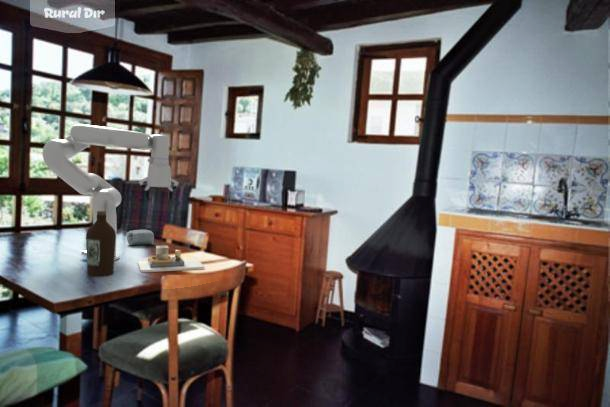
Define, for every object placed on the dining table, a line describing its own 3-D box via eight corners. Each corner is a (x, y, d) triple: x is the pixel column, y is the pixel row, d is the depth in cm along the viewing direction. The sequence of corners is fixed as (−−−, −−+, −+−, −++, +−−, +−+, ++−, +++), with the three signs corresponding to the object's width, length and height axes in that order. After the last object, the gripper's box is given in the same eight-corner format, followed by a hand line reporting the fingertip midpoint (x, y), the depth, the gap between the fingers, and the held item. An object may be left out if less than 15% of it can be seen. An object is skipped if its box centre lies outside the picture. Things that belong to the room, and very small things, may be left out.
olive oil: (101, 268, 175) (102, 209, 173) (121, 272, 172) (122, 211, 169) (79, 274, 166) (79, 211, 163) (99, 278, 162) (100, 213, 159)
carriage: (150, 267, 178) (150, 253, 177) (147, 261, 187) (148, 248, 186) (184, 265, 184) (184, 252, 184) (180, 260, 193) (180, 247, 192)
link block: (156, 261, 181) (156, 247, 181) (155, 259, 186) (155, 245, 185) (168, 261, 183) (168, 247, 183) (167, 258, 188) (167, 245, 187)
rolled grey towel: (126, 241, 218) (130, 223, 222) (123, 246, 226) (127, 228, 230) (153, 246, 224) (157, 229, 228) (149, 251, 231) (153, 234, 236)
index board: (140, 272, 173) (141, 269, 173) (137, 263, 188) (137, 260, 188) (204, 268, 185) (204, 266, 185) (196, 260, 199) (196, 258, 199)
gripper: (140, 161, 186) (139, 199, 187) (180, 163, 193) (179, 200, 195) (138, 160, 192) (137, 198, 194) (177, 163, 200) (176, 199, 201)
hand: (158, 199), depth 194 cm, fingers open, 9 cm apart
